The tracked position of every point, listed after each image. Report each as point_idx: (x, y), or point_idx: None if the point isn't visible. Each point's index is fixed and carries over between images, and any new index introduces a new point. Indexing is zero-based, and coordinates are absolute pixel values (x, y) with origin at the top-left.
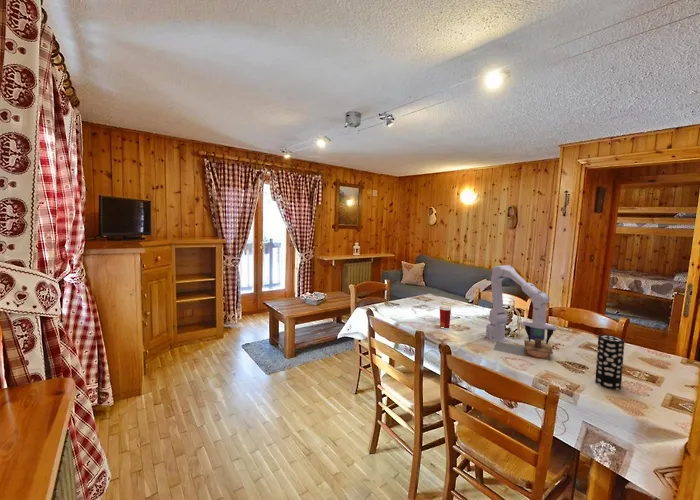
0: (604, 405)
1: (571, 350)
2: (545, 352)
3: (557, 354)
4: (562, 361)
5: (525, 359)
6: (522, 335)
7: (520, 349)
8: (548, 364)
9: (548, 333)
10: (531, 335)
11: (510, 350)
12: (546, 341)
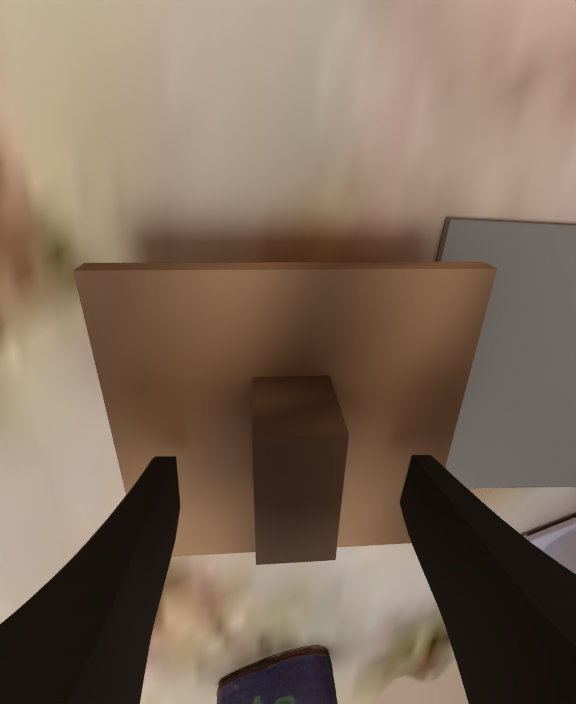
0: None
1: (11, 599)
2: (188, 264)
3: (99, 469)
4: (20, 305)
5: (439, 124)
6: (363, 677)
7: None
8: (156, 88)
9: (32, 691)
10: (313, 687)
11: (562, 323)
12: (161, 487)
